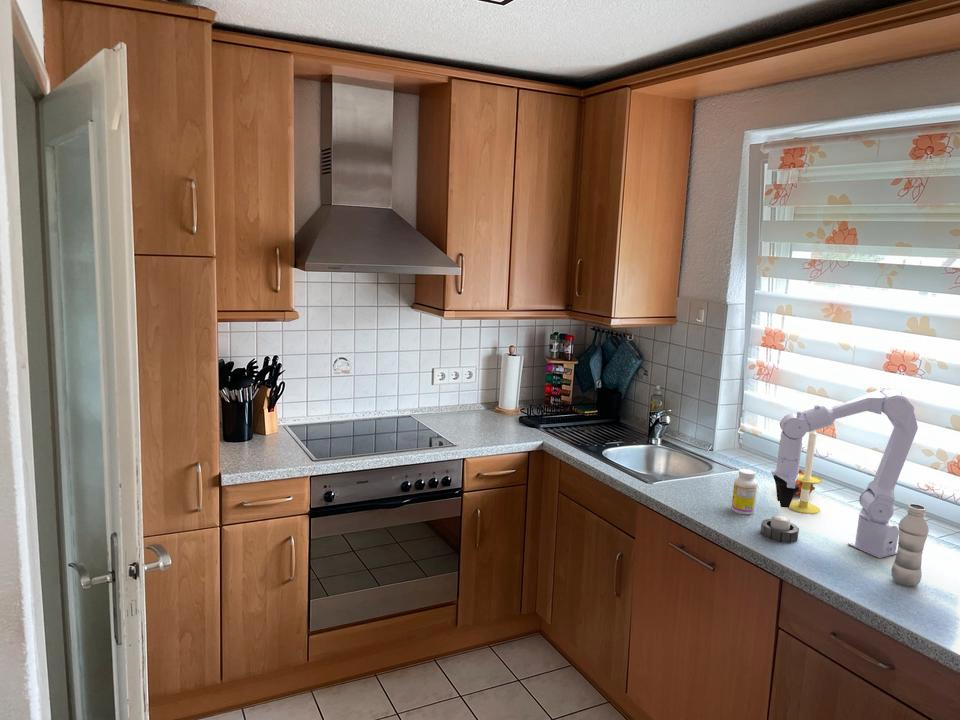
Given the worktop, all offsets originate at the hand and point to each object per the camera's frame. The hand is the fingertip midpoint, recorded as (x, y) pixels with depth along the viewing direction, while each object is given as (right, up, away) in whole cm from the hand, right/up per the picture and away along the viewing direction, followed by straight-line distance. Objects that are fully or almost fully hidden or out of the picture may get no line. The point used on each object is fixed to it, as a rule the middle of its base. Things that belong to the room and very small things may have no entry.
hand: (782, 504), depth 201 cm
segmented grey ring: (0, -9, +2) cm, 9 cm away
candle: (+17, -6, +24) cm, 30 cm away
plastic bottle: (+20, -15, -24) cm, 35 cm away
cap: (0, -9, +2) cm, 10 cm away
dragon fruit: (+20, -4, +36) cm, 42 cm away
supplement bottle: (-4, -6, +19) cm, 20 cm away
